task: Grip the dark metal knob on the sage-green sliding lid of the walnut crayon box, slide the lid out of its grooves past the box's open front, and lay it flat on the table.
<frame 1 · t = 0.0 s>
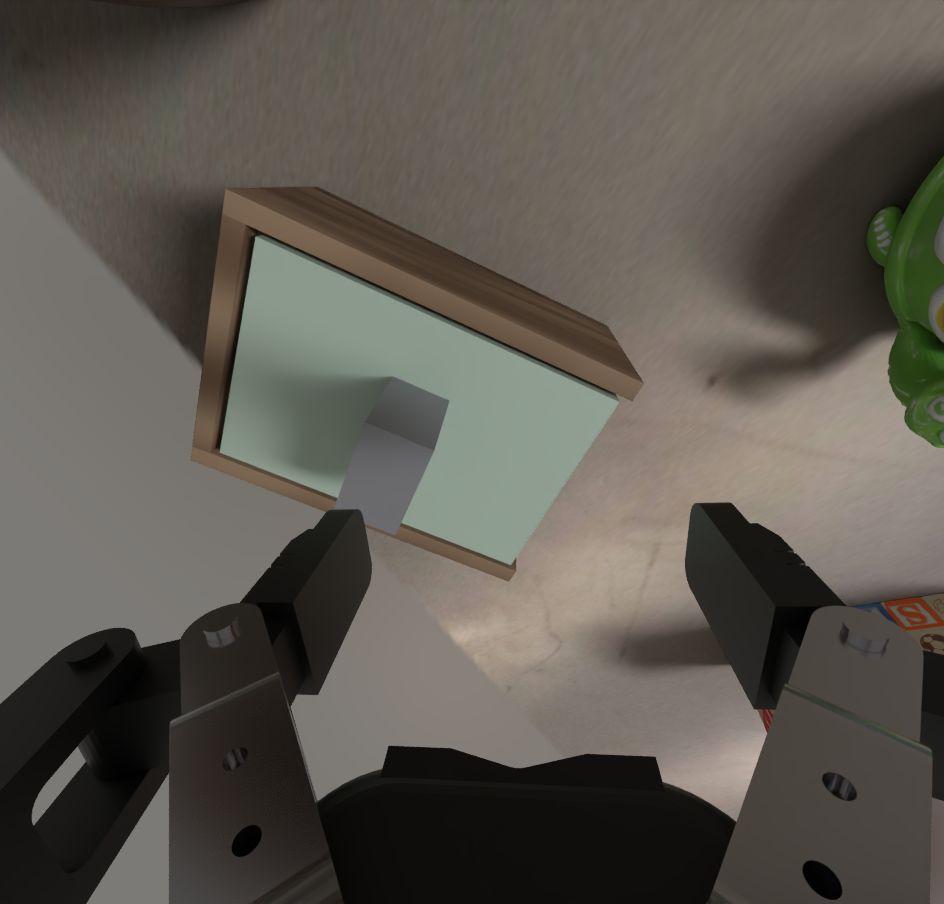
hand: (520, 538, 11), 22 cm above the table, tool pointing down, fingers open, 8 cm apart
stack of blocks: (855, 624, 43), on the table
lid: (409, 419, 25), point 9 cm above the table, touching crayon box
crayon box: (428, 360, 33), on the table
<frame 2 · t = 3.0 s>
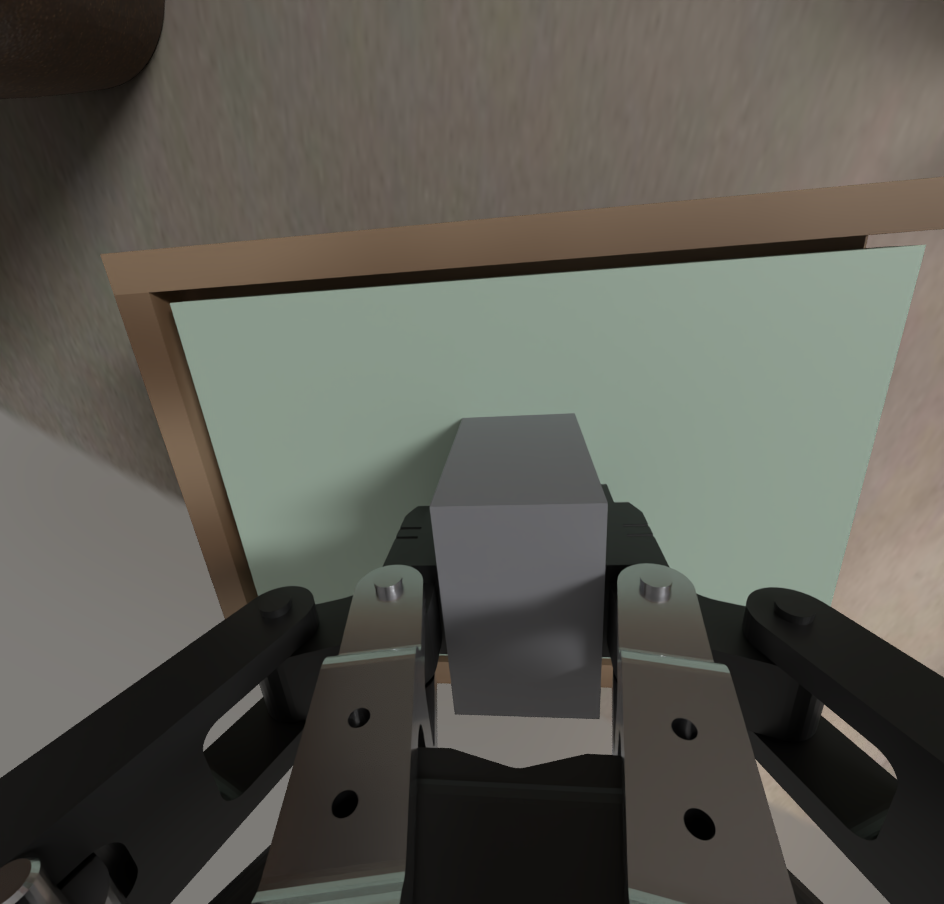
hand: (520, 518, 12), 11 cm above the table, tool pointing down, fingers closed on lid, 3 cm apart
lid: (520, 480, 14), point 9 cm above the table, touching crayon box, gripper
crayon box: (510, 401, 23), on the table
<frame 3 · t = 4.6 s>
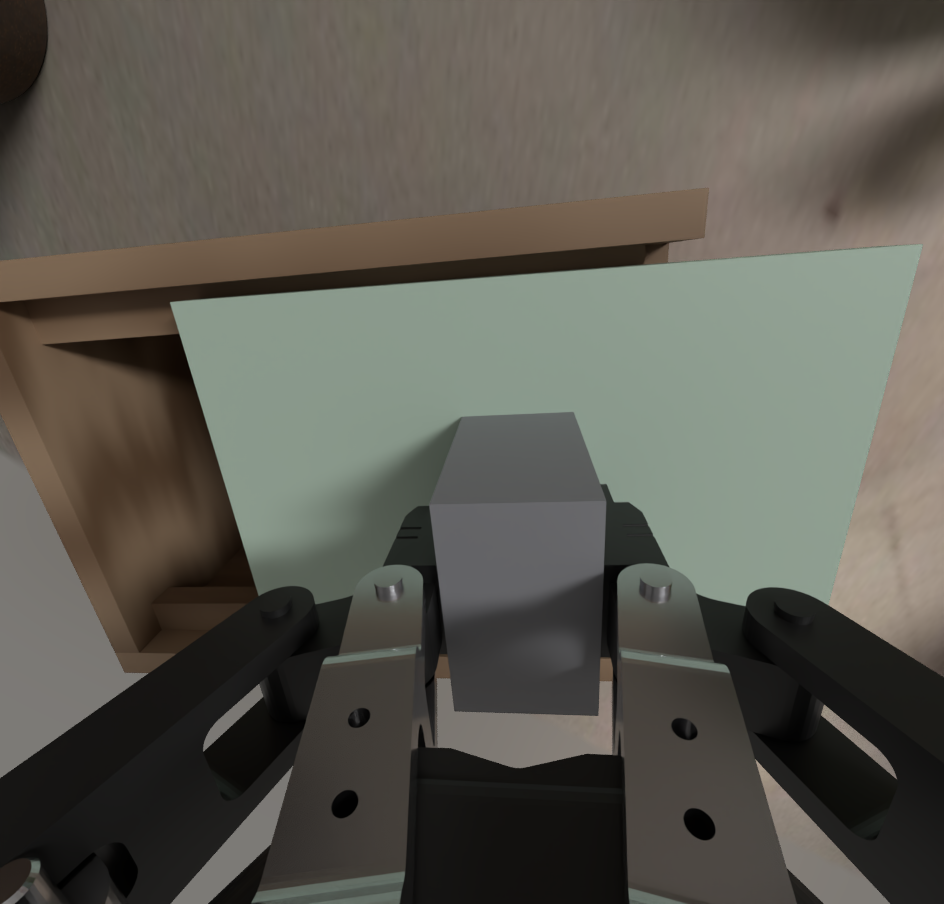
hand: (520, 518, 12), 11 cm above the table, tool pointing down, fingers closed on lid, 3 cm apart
lid: (520, 478, 14), point 9 cm above the table, touching gripper
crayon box: (409, 403, 23), on the table
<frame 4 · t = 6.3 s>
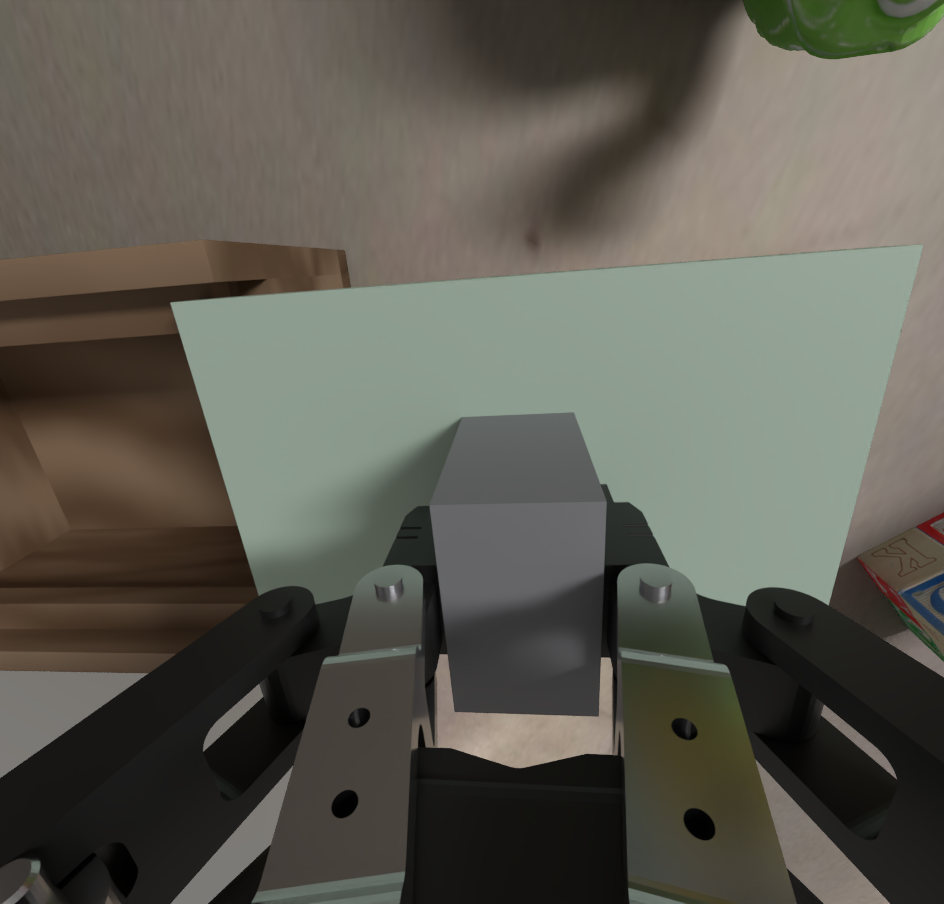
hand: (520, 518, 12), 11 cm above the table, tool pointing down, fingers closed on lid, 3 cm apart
lid: (520, 479, 14), point 9 cm above the table, touching gripper
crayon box: (190, 414, 25), on the table
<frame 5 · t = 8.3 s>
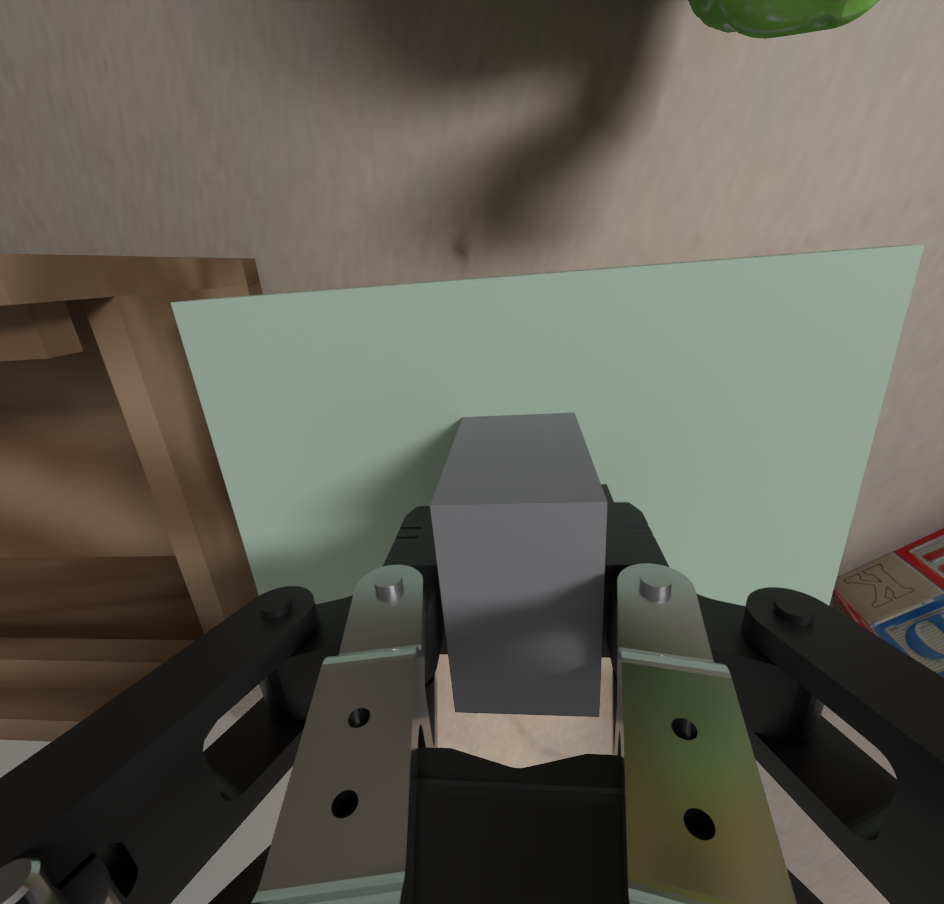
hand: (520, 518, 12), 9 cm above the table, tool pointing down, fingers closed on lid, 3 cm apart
lid: (520, 479, 14), point 6 cm above the table, touching gripper
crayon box: (99, 436, 23), on the table
when the fingers open (4 cm above the table, at t = 10.0 s): lid drops 2 cm, on the table.
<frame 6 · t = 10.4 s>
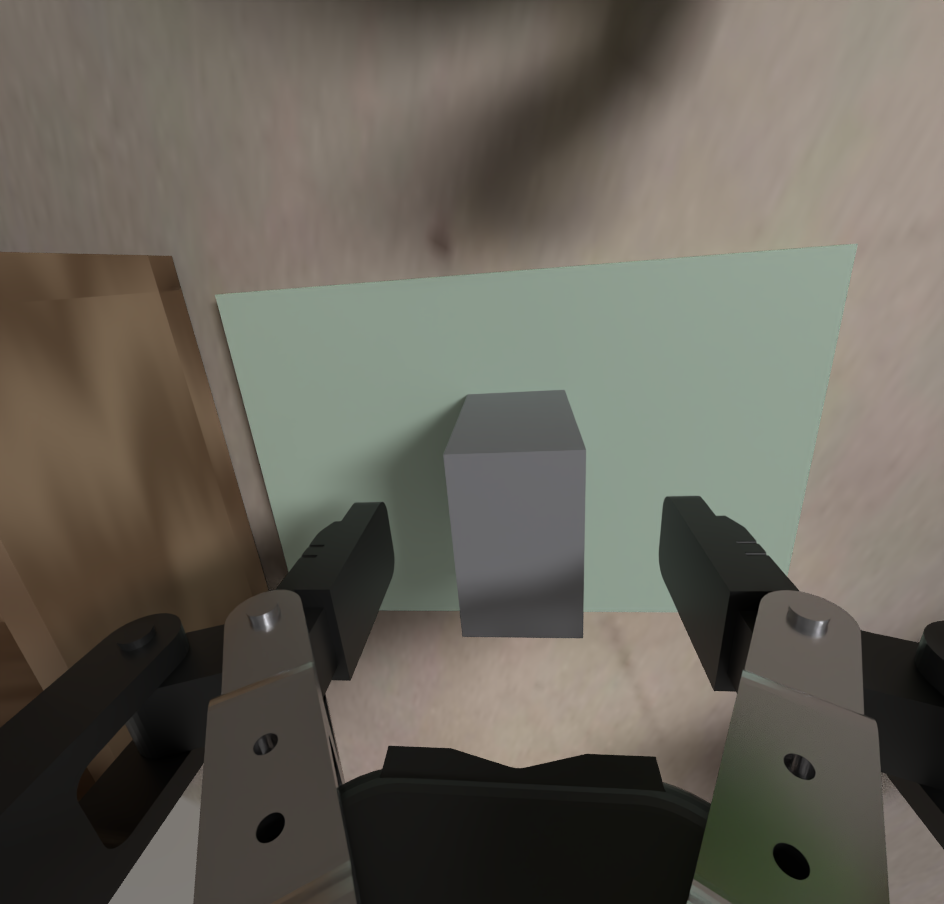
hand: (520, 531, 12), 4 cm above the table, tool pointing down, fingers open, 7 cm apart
lid: (518, 452, 16), on the table
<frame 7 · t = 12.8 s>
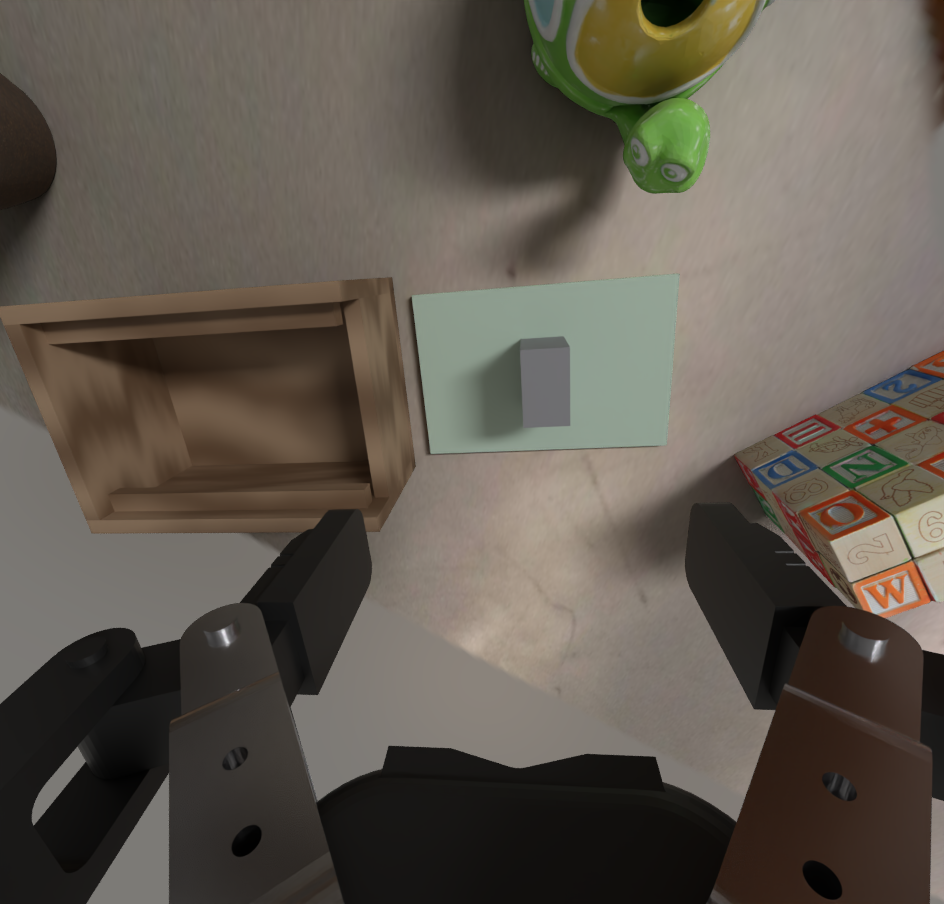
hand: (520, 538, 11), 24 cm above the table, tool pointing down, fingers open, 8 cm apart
stack of blocks: (895, 414, 33), on the table
lid: (542, 369, 35), on the table
turtle holder: (634, 20, 26), on the table
plant pot: (11, 141, 32), on the table
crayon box: (281, 384, 37), on the table
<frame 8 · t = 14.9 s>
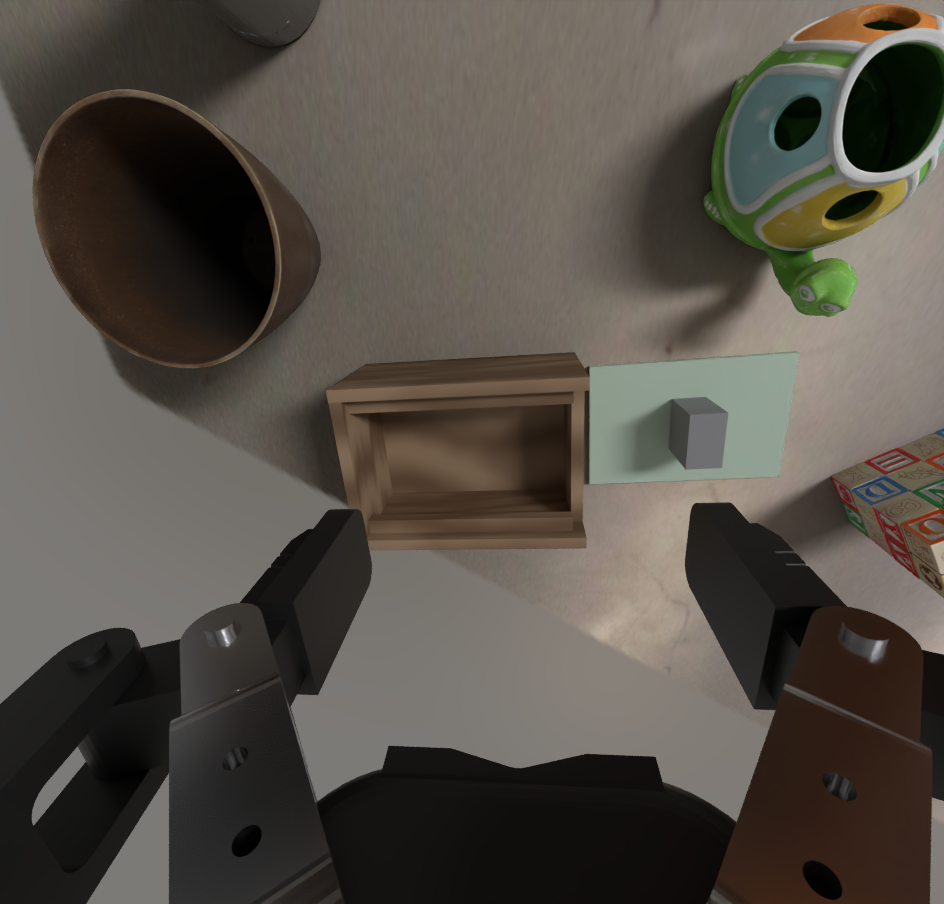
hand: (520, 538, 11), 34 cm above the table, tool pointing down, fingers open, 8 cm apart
lid: (682, 419, 45), on the table
turtle holder: (780, 178, 37), on the table
plant pot: (284, 250, 42), on the table
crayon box: (473, 430, 47), on the table
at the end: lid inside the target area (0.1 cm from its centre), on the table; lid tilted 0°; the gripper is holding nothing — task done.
